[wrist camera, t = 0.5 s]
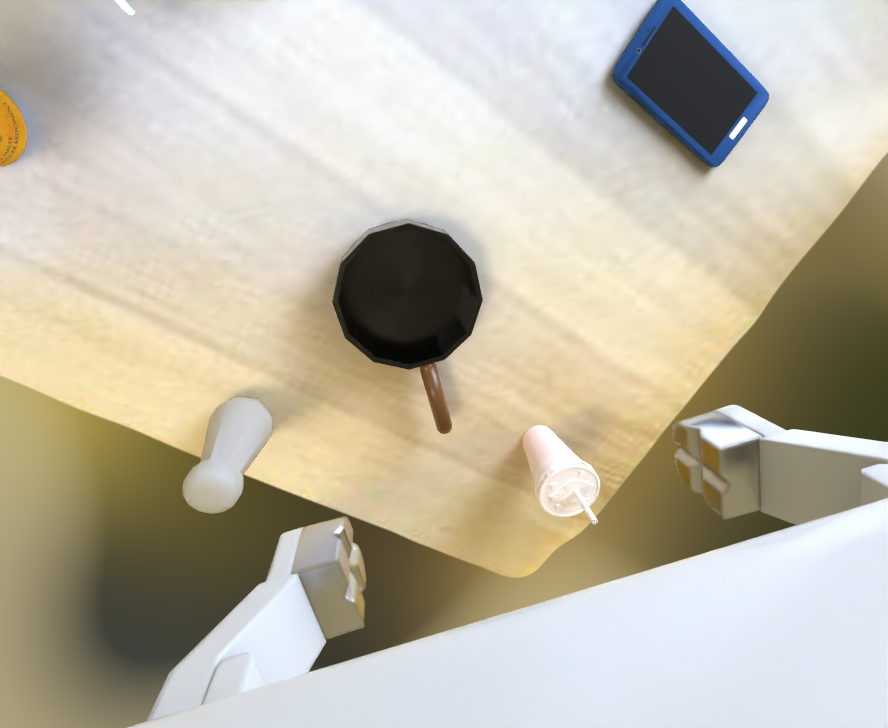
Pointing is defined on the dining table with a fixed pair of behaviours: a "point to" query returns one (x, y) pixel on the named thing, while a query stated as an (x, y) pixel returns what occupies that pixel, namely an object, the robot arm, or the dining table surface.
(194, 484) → the salt shaker
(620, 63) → the cell phone
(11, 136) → the glass of yellow beer
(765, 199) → the dining table surface
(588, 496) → the smoothie
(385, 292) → the pan
